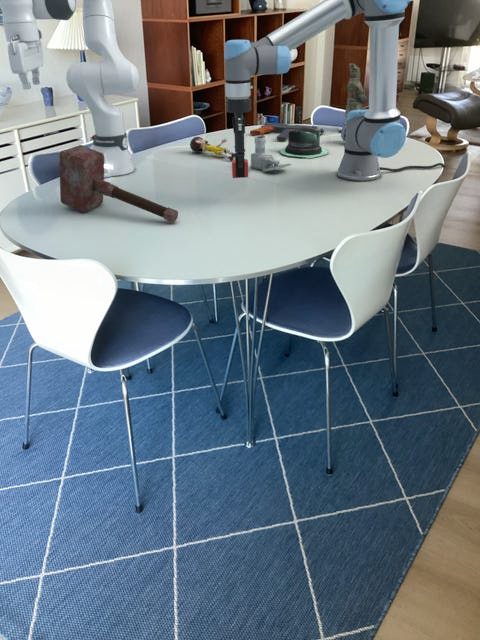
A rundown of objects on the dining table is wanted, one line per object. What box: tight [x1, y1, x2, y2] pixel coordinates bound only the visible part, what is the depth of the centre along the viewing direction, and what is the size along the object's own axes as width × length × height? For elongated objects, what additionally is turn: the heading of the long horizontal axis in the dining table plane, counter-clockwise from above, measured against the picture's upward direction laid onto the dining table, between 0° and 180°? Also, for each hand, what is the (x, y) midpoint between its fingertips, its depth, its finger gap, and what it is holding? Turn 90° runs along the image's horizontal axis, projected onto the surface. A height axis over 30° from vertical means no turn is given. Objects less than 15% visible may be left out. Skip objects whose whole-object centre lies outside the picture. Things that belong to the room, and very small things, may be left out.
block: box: [231, 158, 249, 179], centre depth 177 cm, size 4×5×5 cm
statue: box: [344, 62, 368, 121], centre depth 262 cm, size 11×9×30 cm
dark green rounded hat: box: [279, 128, 328, 159], centre depth 234 cm, size 15×19×20 cm
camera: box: [250, 134, 292, 173], centre depth 210 cm, size 9×12×15 cm
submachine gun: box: [249, 122, 325, 141], centre depth 263 cm, size 32×3×25 cm
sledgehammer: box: [59, 144, 179, 223], centre depth 170 cm, size 17×10×40 cm
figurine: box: [189, 136, 236, 162], centre depth 232 cm, size 13×8×25 cm
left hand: (32, 86), depth 163 cm, fingers open, 8 cm apart
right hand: (240, 175), depth 178 cm, fingers closed on block, 4 cm apart
